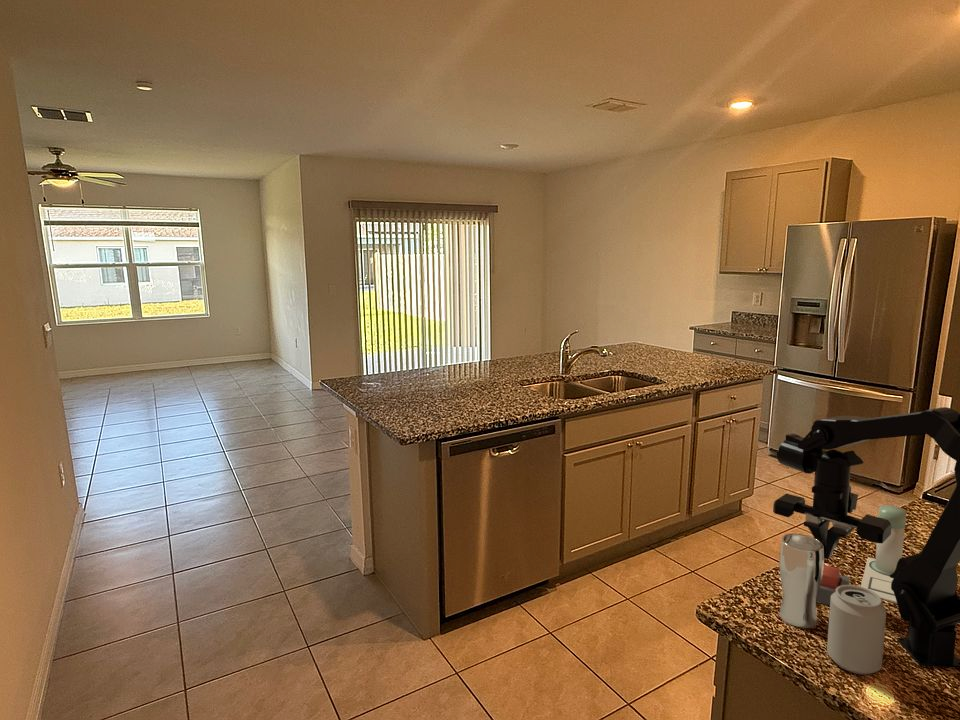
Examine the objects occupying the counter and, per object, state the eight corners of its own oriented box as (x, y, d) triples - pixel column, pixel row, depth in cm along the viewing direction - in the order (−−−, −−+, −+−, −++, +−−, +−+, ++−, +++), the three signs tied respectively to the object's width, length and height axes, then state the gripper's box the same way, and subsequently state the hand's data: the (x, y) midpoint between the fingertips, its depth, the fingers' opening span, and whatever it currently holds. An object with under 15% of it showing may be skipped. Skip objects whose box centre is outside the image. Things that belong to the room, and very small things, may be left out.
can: (864, 647, 95) (869, 581, 94) (891, 679, 88) (898, 608, 86) (817, 646, 96) (822, 580, 94) (841, 677, 89) (846, 607, 87)
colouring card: (907, 606, 106) (907, 604, 106) (859, 593, 111) (859, 591, 111) (911, 568, 119) (911, 567, 119) (867, 558, 124) (867, 556, 124)
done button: (836, 593, 108) (837, 578, 107) (809, 585, 111) (810, 571, 110) (839, 583, 111) (840, 568, 111) (813, 576, 114) (814, 562, 113)
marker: (899, 576, 116) (904, 516, 114) (872, 568, 119) (877, 510, 117) (902, 567, 119) (908, 509, 117) (876, 560, 122) (881, 503, 120)
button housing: (844, 609, 106) (845, 595, 105) (798, 596, 111) (799, 582, 110) (849, 591, 112) (850, 577, 111) (805, 579, 116) (806, 565, 116)
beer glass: (797, 633, 100) (802, 553, 97) (768, 611, 106) (771, 536, 104) (829, 625, 102) (834, 547, 99) (798, 604, 108) (802, 530, 106)
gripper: (903, 483, 106) (896, 561, 108) (796, 460, 120) (792, 529, 122) (885, 500, 99) (878, 583, 101) (773, 473, 113) (770, 546, 115)
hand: (826, 558), depth 110 cm, fingers closed
